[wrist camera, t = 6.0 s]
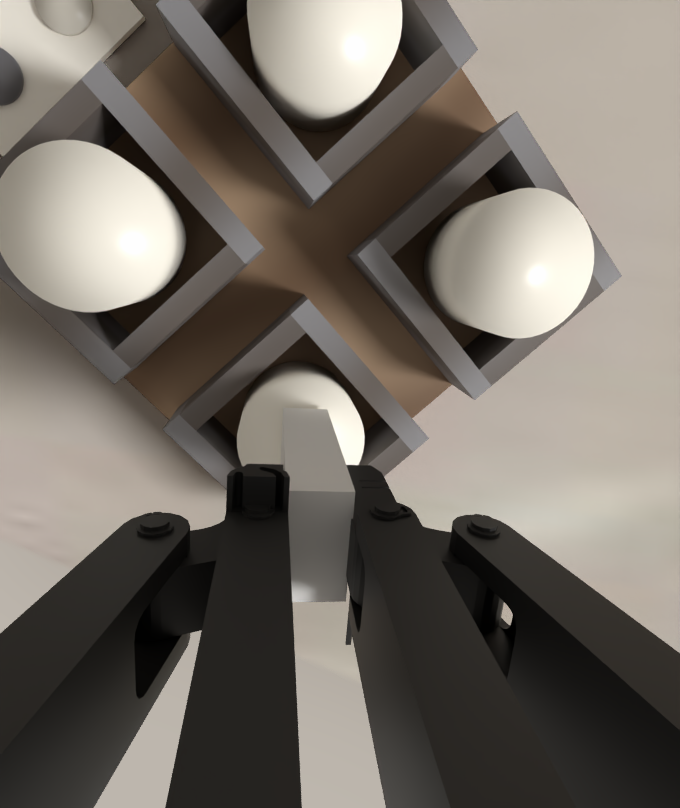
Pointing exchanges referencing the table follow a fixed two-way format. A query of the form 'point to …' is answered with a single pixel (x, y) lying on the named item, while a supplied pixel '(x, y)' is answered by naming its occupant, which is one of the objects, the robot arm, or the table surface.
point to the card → (52, 54)
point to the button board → (299, 230)
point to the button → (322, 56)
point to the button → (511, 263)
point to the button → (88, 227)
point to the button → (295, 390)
